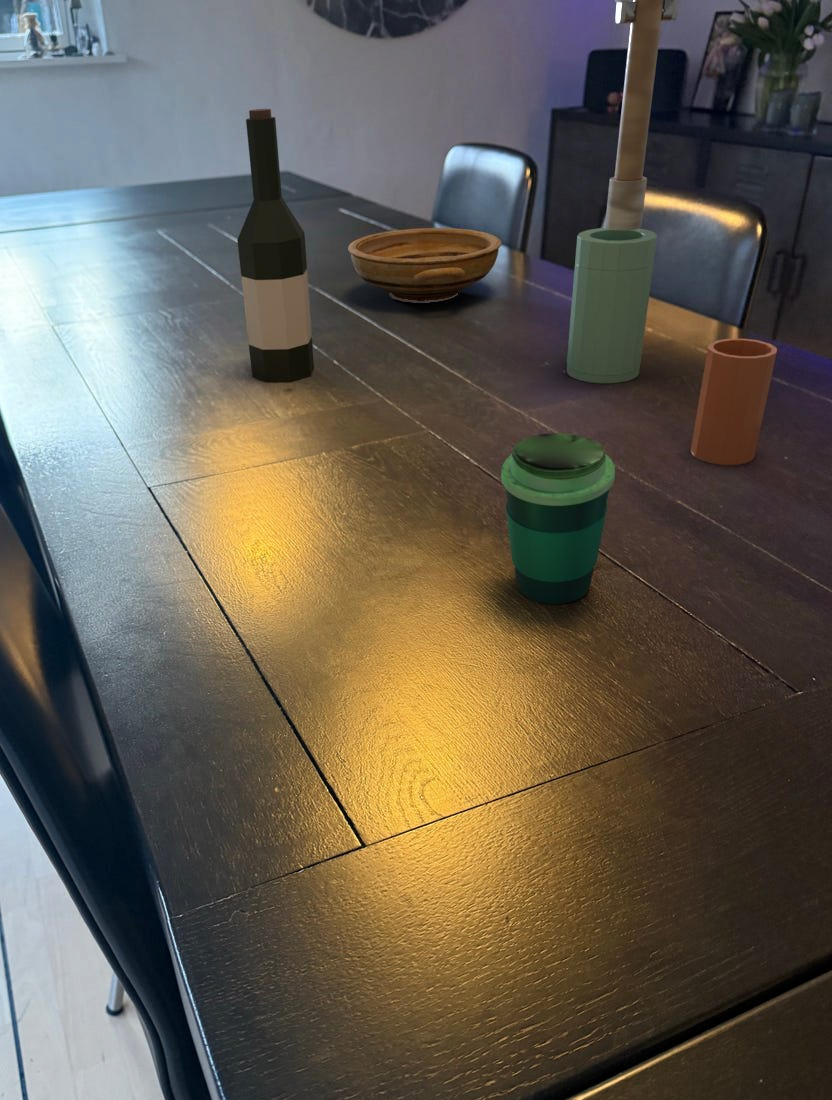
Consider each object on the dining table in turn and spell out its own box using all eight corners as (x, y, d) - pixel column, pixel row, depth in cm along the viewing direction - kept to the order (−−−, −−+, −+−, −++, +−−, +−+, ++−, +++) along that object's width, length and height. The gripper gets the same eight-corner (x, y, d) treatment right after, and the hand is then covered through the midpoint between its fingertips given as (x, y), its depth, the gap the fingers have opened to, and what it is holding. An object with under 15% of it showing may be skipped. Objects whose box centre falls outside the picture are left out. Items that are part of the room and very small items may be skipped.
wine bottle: (258, 386, 117) (230, 115, 100) (246, 367, 124) (217, 110, 107) (322, 377, 119) (304, 109, 102) (306, 359, 126) (287, 104, 109)
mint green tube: (626, 358, 120) (642, 225, 111) (648, 381, 112) (667, 240, 103) (558, 363, 119) (569, 229, 110) (576, 385, 112) (589, 244, 103)
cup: (619, 587, 73) (639, 443, 66) (565, 632, 68) (580, 482, 62) (532, 557, 78) (541, 420, 71) (475, 597, 73) (480, 454, 66)
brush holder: (738, 444, 95) (760, 336, 89) (764, 468, 90) (788, 355, 84) (681, 448, 95) (698, 340, 89) (703, 472, 90) (723, 360, 84)
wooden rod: (634, 221, 107) (662, -10, 94) (646, 229, 104) (676, -10, 91) (600, 224, 107) (623, -8, 94) (610, 231, 104) (635, -8, 91)
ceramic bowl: (523, 312, 140) (526, 256, 135) (364, 325, 138) (362, 269, 133) (474, 268, 164) (475, 220, 160) (339, 280, 162) (336, 231, 158)
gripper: (759, -157, 89) (733, 15, 97) (549, -145, 89) (540, 27, 97) (788, -168, 84) (759, 15, 92) (566, -155, 84) (554, 28, 92)
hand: (645, 22), depth 94 cm, fingers closed on wooden rod, 3 cm apart
